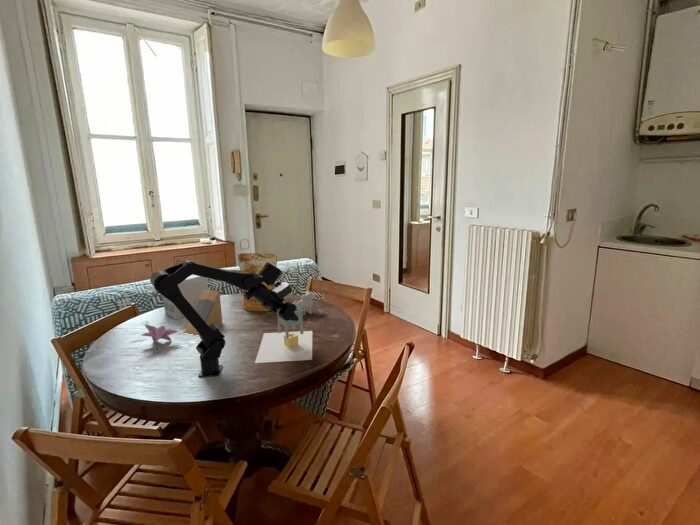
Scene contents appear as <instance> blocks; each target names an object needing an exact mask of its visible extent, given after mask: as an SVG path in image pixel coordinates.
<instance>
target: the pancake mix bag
mask: <svg viewBox="0 0 700 525" xmlns="http://www.w3.org/2000/svg"><path fill="white" fill-rule="evenodd" d="M237 260H238V261H237V262H238V267H239V270H243V271H246V272H248V273H257V274H259V272H260V271H261V270H262V268H263V267H264V265H265V264H266V262H269V263H270V264H272V265H273V266H275V267H276V268H277V265H278V257H277V255H275V254H274V253H255V252H254V253H253V252H243V253H239V254H237ZM262 284H264V285H265V286H266V287H268V288H269V289H271V290H274V285H269V286H268V285H267V284H265V283H264V282H262ZM244 291H246V290H243V289H242V295H243V309H244V310H246V311H249V312H250V311H251V312H263V311H270V310H268V309H266V308H265V307H263V306H262V305H261V303H260V302H259V301H258V300H256V299H255V298H253V297H251V298H250V299H249V300H247V299H246V298H244ZM270 312H271V311H270Z"/></svg>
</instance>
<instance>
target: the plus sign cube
mask: <svg viewBox="0 0 700 525" xmlns="http://www.w3.org/2000/svg"><path fill="white" fill-rule="evenodd" d="M284 345H285V346H287V347H288V348H292V347H295V346H298V345H299V344H298V335H296V334H295V333H289V338H288V339H287V338H286V335H284Z"/></svg>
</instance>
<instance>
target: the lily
mask: <svg viewBox="0 0 700 525" xmlns="http://www.w3.org/2000/svg"><path fill="white" fill-rule="evenodd" d="M144 327H145V328H146V330H148V332H145V333H142V334H141V336H142V337H151V338H152V341H153V342H156V350H157V349H158V348H159V347H158V342H159V340H162V339H163V340H166V341H170V340H171V341H172V339H171V337H170V335H172V334H176V333H178V332H179V331H178V330H174V329H166V326H165V325H162V326H159V327H156V326H154V325H150V324H144ZM171 341H170V342H171Z"/></svg>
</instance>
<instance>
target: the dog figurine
mask: <svg viewBox="0 0 700 525" xmlns="http://www.w3.org/2000/svg"><path fill="white" fill-rule="evenodd" d="M316 295H317V294H316V293H314V292H313V291H310V290H307V291H306V292H305V293H304V294H303V295H301V297H300V298H301V299H300V300H294V302H293V304H294V305H295V306H297V308H299V309H301V310H303V312H304V311H307V312H308V314H309V313H312V306H313V300H314V299H316V297H317V296H316Z"/></svg>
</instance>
